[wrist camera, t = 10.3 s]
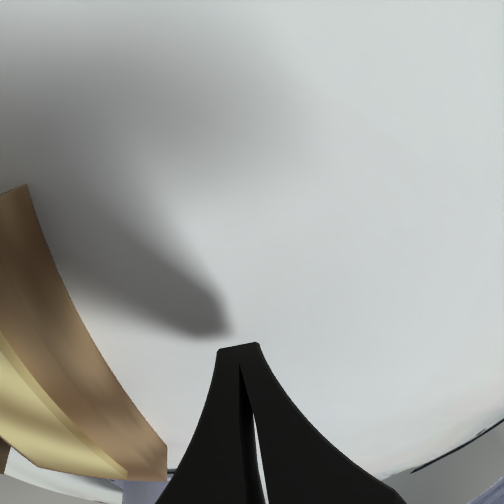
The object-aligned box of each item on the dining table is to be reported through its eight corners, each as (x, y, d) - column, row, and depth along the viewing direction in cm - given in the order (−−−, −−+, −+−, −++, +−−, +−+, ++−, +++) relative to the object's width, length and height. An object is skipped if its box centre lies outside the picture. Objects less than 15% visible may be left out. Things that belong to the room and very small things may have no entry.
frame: (167, 440, 15) (167, 488, 12) (45, 434, 15) (36, 472, 12) (33, 180, 8) (-31, 220, 5) (-87, 239, 7) (-125, 274, 4)
